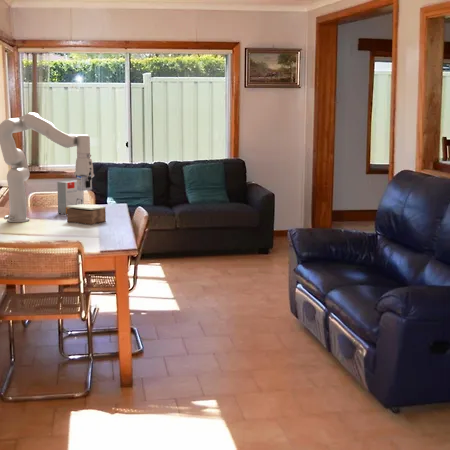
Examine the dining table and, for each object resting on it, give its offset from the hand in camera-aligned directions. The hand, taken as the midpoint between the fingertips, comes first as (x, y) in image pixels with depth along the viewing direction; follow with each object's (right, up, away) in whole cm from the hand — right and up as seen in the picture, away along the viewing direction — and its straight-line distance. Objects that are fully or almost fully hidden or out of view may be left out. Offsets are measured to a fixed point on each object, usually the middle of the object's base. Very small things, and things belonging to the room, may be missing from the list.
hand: (84, 186), depth 418 cm
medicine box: (0, -2, 0) cm, 2 cm away
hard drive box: (-16, -14, +38) cm, 43 cm away
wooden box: (0, -20, +5) cm, 21 cm away
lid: (0, -12, +3) cm, 12 cm away
